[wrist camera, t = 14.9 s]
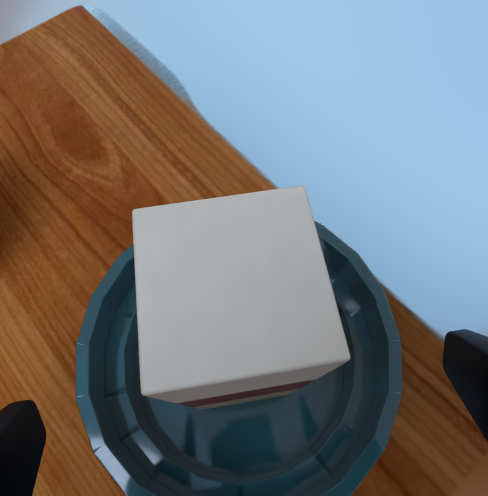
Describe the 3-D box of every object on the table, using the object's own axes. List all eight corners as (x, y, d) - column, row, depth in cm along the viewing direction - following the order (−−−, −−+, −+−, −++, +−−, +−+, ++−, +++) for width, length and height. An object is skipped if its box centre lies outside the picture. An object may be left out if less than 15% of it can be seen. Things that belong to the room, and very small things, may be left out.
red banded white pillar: (290, 394, 20) (352, 359, 8) (201, 410, 19) (140, 396, 8) (273, 308, 22) (305, 183, 10) (191, 321, 21) (130, 208, 10)
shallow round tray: (423, 354, 21) (466, 338, 17) (242, 591, 17) (241, 647, 13) (238, 199, 25) (237, 156, 21) (56, 359, 21) (10, 345, 17)
